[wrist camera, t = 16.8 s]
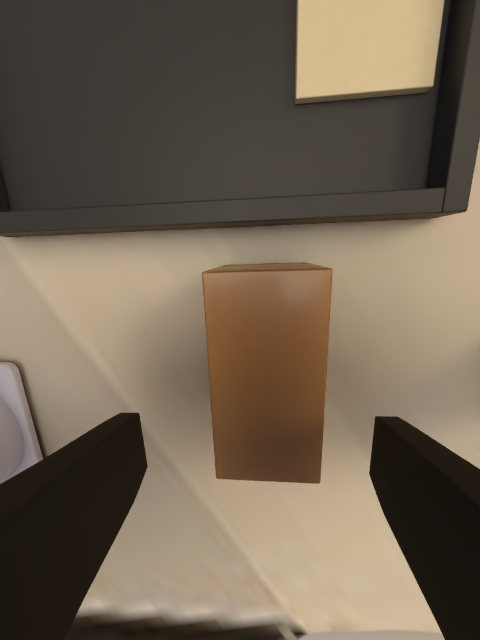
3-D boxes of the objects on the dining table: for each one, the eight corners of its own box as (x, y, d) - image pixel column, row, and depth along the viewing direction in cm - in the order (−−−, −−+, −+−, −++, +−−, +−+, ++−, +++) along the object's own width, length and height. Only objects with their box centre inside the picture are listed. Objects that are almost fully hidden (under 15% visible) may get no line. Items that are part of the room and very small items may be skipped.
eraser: (230, 407, 13) (215, 479, 9) (224, 264, 11) (201, 271, 7) (301, 408, 13) (320, 484, 9) (306, 262, 11) (333, 268, 7)
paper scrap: (294, 105, 9) (295, 98, 9) (297, -62, 8) (298, -78, 8) (426, 93, 9) (433, 86, 8) (448, -84, 8) (458, -102, 7)
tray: (11, 236, 12) (-29, 234, 10) (-83, -146, 9) (-162, -237, 7) (435, 218, 10) (467, 211, 9) (506, -267, 7) (579, -424, 5)
